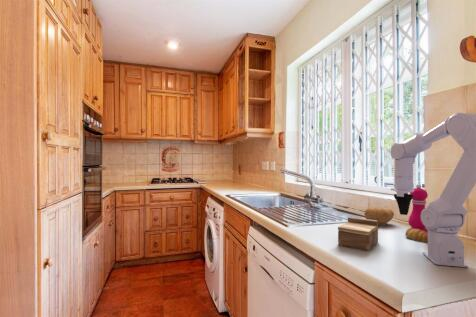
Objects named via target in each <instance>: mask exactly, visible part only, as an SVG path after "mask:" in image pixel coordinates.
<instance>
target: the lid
mask: <svg viewBox="0 0 476 317" xmlns="http://www.w3.org/2000/svg"><path fill="white" fill-rule="evenodd" d="M376 229H378V230H379V225H378V221H377V220H370V219H366V218H361V217H360V218H359V217H356V216H355V217H353V216H348V217H347V222H344V223H343V224H341V225H340V226H337V232H338V231H344V232H350V233H356V234H361V235H367V236H369V235H370V234H371V233H373V232H374V231H375V230H376Z"/></svg>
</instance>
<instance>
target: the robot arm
mask: <svg viewBox="0 0 476 317" xmlns="http://www.w3.org/2000/svg"><path fill="white" fill-rule="evenodd" d="M449 136H451V137H452V139H453V140H454V141H455V142H456V144H458V145H459V147H460V148H462V149H463V153H462V154H461V157H460V159H459V160H458V162H457V164H456V166H455V167H454V170H453V171H452V174H451V175H450V177H449V179H448V181H447V183H446V185H445V186H444V188H443V190H442V192H441V194H440V196H439V197H438V198H436V199H435V200H434V199H433V201H431V202H429V203H428V205H427V206H426V207H425V209H423V210H422V212H421V221H422V223H423V225H424V226H425V228H426V229H427V230H428V242H427V251H422V254H423V255H424V256H425V258H427V259H429V261H430V262H432V263H433V264H434V265H438V266H448V267H449V266H451V267H463V268H468V267H469V265H468V264H466V263H465V244H464V242H463V241H462V239H461V238H459V234H458V233H459V232H460V231H461V230H460V229H461V228H462V227H463V226H464V225H465V222H466V215H467V213H468V210H467V209H466V207H465V206H464V203H465V202H466V200H467V198H468V197H469V196H470V194H471V192H472V191H473V189H474V188H475V186H476V113H471V112H470V113H468V112H467V113H466V112H465V113H464V112H456V113H453V114H452V115H451V116H448V117H445V119H444V121H443V122H442V123H440V124H438V125H437V126H435V127H434V128H432V129H431V130H429V131H427V132H426V133H423V132H422V133H420V132H418V133H414V134H413V136H412V137H410V138H408V139H405V140H404V141H403V142H402V143H400V142H394V144H393V145H392V146H391V148H390V150H389V152H390V156H391V158H392V159H393V160H394V167H393V168H394V171H393V172H394V187H391V188H390V191H394V192H396V193H395V194H393V198H394V200H395V201H396V203H397V207H398V212H399V215H401V216H403V215H404V216H408V215H409V212H410V207H411V204H412V203H411V202H412V201H411V200H413V199H412V198H413V196H414V195H412V194H410V192H414V164H415V162H416V157H417V155H419V154H421V153H422V152H425V151H427V150H429V149H430V148H431V147H432V146H433V143H434V142H438V141H440V140H442V139H444V138H447V137H449Z"/></svg>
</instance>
